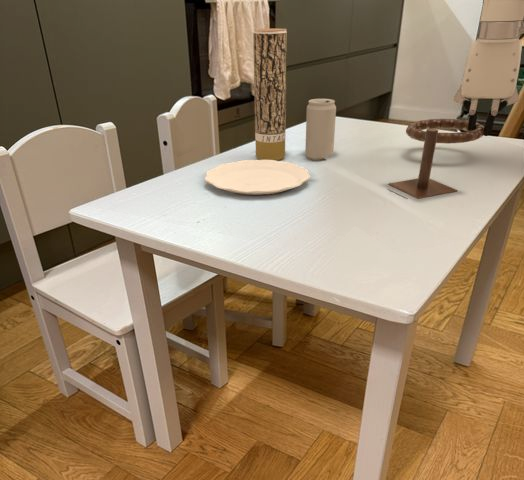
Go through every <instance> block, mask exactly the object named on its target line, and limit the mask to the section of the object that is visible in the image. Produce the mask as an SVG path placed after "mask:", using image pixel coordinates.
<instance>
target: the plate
mask: <svg viewBox="0 0 524 480" xmlns="http://www.w3.org/2000/svg"><path fill="white" fill-rule="evenodd" d="M310 179H311V175H310V173H309V170H308V169H307V168H306V167H304V166H300V165H298V164H297V163H295V162H294V163H293V162H290V161H280V160H277V161H275V160H260V159H244V160H237V161H233V162H226V163H221V164H219V165H217V166H215V167H213V168H211V169H209V170H207V171H206V172H205V177H204V181H205V182H206V183H208V184H210V185H212V186H213V187H214V188H217V189H219V190H225V191H227V192H229V193H233V194H239V195H247V196H250V195H251V196H261V195H262V196H263V195H272V194H273V195H274V194H278V193H283V192H286V191H289V190H291V189H294V188H297V187H300V186H301V185H303V183H306V182H307V181H309V180H310Z"/></svg>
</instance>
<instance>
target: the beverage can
mask: <svg viewBox="0 0 524 480" xmlns="http://www.w3.org/2000/svg"><path fill="white" fill-rule="evenodd" d="M335 102H336V100H335V99H332V98H313V99H309V100H308V104H307V106H306V119H305V120H306V121H305V151H304V153H305V154H304V155H305V156H306V157H307V158H308V159H309V160H311V161H318V162H319V161H327V160H328V159H327V157H328V158H329V157H332V156H334V149H335V147H334V146H335V131H336V116H337V106H336V104H335Z"/></svg>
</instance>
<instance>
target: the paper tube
mask: <svg viewBox="0 0 524 480" xmlns="http://www.w3.org/2000/svg"><path fill="white" fill-rule="evenodd" d="M252 37H253V41H252V45H253V47H252V48H253V87H254V88H253V90H254V136H255V137H254V138H255V141H254V142H255V157H256V158H257V160H275V161H280V160H283V159H284V158H285V156H286V130H287V129H286V124H287V123H286V121H287V112H286V111H287V51H288V50H287V48H288V45H287V43H288V40H287V39H288V32H287V28H256V29H253V32H252Z"/></svg>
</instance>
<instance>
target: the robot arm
mask: <svg viewBox="0 0 524 480" xmlns="http://www.w3.org/2000/svg"><path fill="white" fill-rule="evenodd" d="M523 20H524V0H483V3H482V9H481V14H480V20H479V25H478V30H477V36H476V40H475V39H474V40H472V42H471V45H470V47H469V51H468V54H467V57H466V61H465V65H464V71H463V75H462V81H461V85H460V86H459V88H458V90H457V92H456V93H455V95H454V96H453V101H454V102H455V103H457V104H459V105H462V106H463V107H464V109H466V111H467V112H468V114H469V117H468V121H469V122H468V128H467V130H468V131H473V130H475V125H476V122H477V120H478V110H477V107H478V103H479V99H488V100H489V99H490V100H491V99H492V101H491V107H490V109H489V111H488V112H487V114H486V117H485V124H484V135H483V136H484V137H488V135H489V132H492V131H493V127H494V122H495V119H496V116H497V115H498V113H499V112H501V111H502V110H504V108H506V107H507V106H511V105H513V104H516V103H517V102H519V93H518V89H517V82H518V78H519V73H520V66H521V57H522V49H523V40H522V39H520V37H521V36H522V34H523V35H524V21H523ZM469 99H471V100H469Z"/></svg>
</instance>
